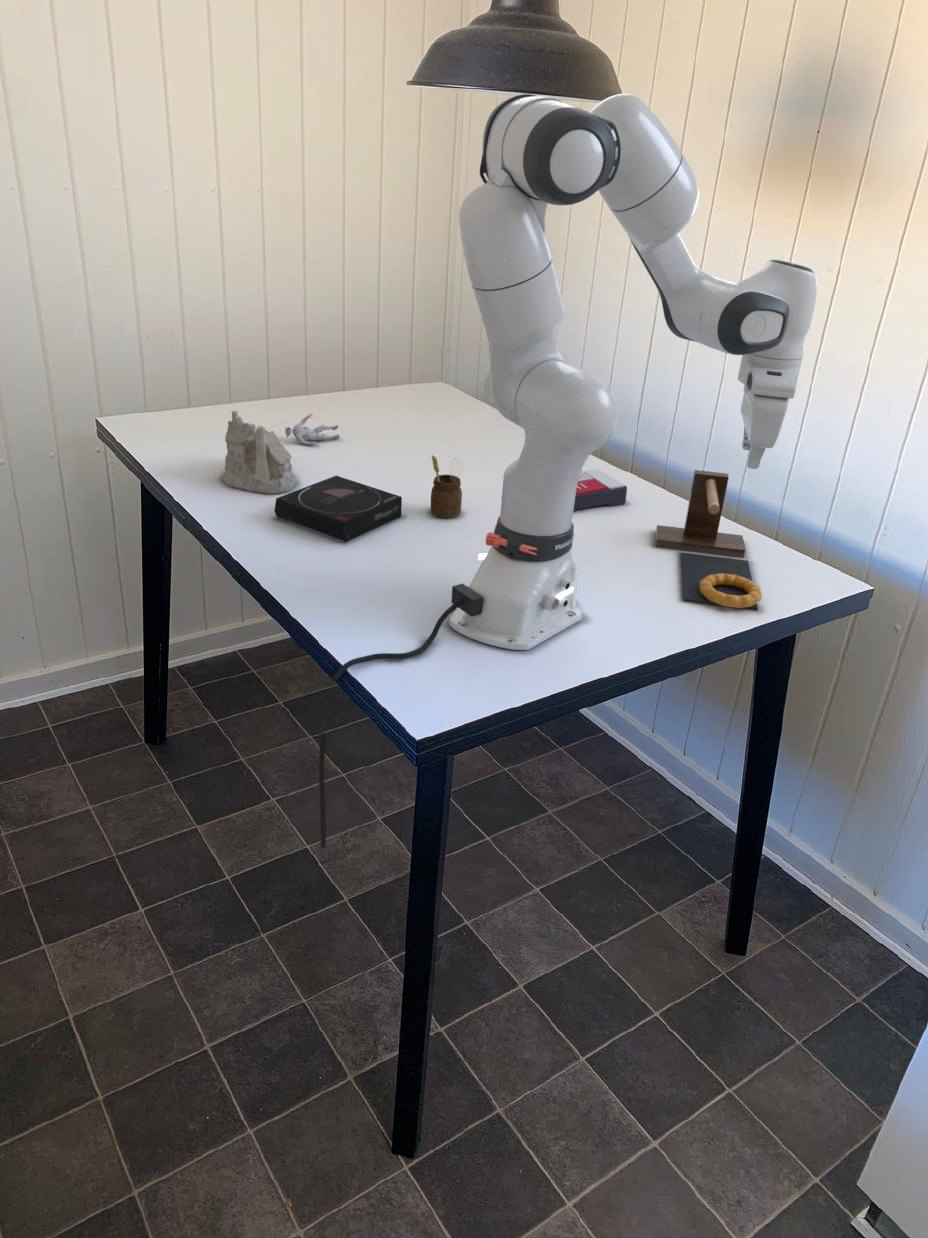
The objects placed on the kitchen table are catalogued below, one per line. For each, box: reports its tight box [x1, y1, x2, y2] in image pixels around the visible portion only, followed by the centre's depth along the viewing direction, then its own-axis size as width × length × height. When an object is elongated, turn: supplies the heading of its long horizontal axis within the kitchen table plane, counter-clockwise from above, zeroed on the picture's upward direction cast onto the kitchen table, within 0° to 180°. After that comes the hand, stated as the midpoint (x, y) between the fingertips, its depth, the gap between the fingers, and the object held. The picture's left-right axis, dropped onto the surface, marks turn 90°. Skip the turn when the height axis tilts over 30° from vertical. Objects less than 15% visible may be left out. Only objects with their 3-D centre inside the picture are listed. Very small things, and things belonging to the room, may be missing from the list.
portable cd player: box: [273, 475, 403, 544], centre depth 179 cm, size 16×17×4 cm
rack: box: [655, 469, 746, 558], centre depth 171 cm, size 16×16×14 cm
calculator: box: [573, 468, 628, 511], centre depth 195 cm, size 11×4×15 cm
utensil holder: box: [430, 454, 464, 519], centre depth 182 cm, size 6×6×12 cm
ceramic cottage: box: [222, 409, 297, 495], centre depth 193 cm, size 16×16×15 cm
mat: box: [680, 551, 759, 611], centre depth 165 cm, size 19×12×1 cm, turn 170°
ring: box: [700, 573, 763, 609], centre depth 159 cm, size 10×2×10 cm
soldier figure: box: [284, 413, 340, 446], centre depth 216 cm, size 8×5×12 cm
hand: (749, 457), depth 154 cm, fingers open, 8 cm apart
